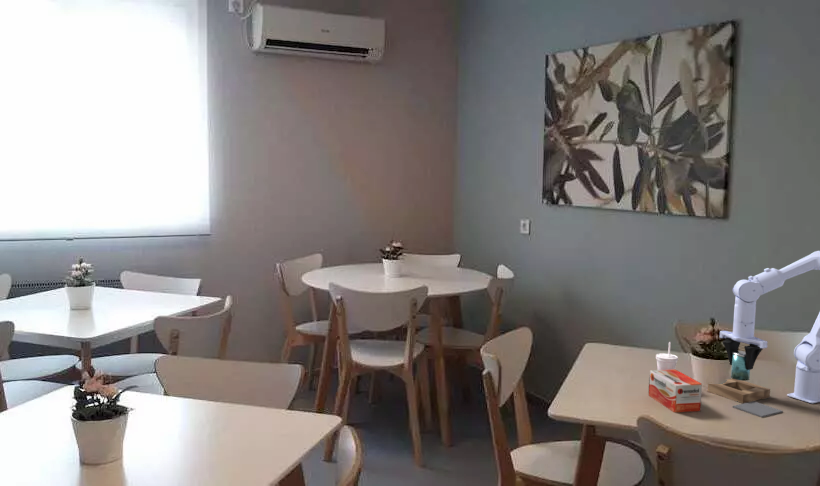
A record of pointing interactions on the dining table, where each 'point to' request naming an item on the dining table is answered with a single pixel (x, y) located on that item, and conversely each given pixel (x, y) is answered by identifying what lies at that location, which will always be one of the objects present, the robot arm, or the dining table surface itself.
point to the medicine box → (675, 390)
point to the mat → (757, 409)
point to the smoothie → (666, 360)
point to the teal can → (739, 366)
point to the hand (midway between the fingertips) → (741, 366)
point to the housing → (739, 390)
